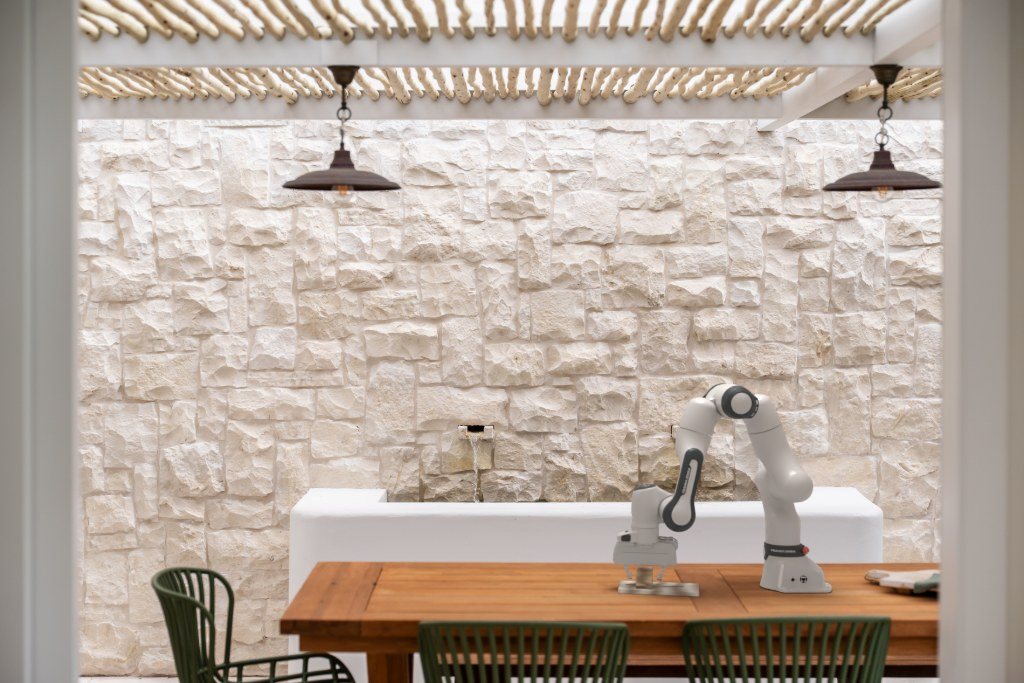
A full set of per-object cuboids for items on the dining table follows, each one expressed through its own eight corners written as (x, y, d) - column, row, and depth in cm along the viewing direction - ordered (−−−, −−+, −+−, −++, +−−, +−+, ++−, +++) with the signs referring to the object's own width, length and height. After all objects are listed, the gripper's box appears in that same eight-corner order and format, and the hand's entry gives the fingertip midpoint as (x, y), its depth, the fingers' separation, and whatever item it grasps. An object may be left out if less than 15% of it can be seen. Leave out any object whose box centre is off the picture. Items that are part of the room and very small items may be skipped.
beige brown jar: (652, 582, 356) (653, 567, 356) (652, 589, 347) (652, 573, 347) (636, 582, 357) (637, 566, 357) (635, 588, 348) (636, 572, 348)
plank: (698, 587, 356) (698, 583, 356) (699, 596, 344) (699, 592, 344) (620, 584, 360) (620, 580, 360) (618, 593, 347) (618, 588, 347)
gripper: (678, 535, 354) (677, 578, 354) (613, 532, 357) (613, 575, 357) (678, 538, 348) (677, 582, 348) (612, 536, 351) (612, 580, 351)
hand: (644, 579), depth 352 cm, fingers open, 8 cm apart
